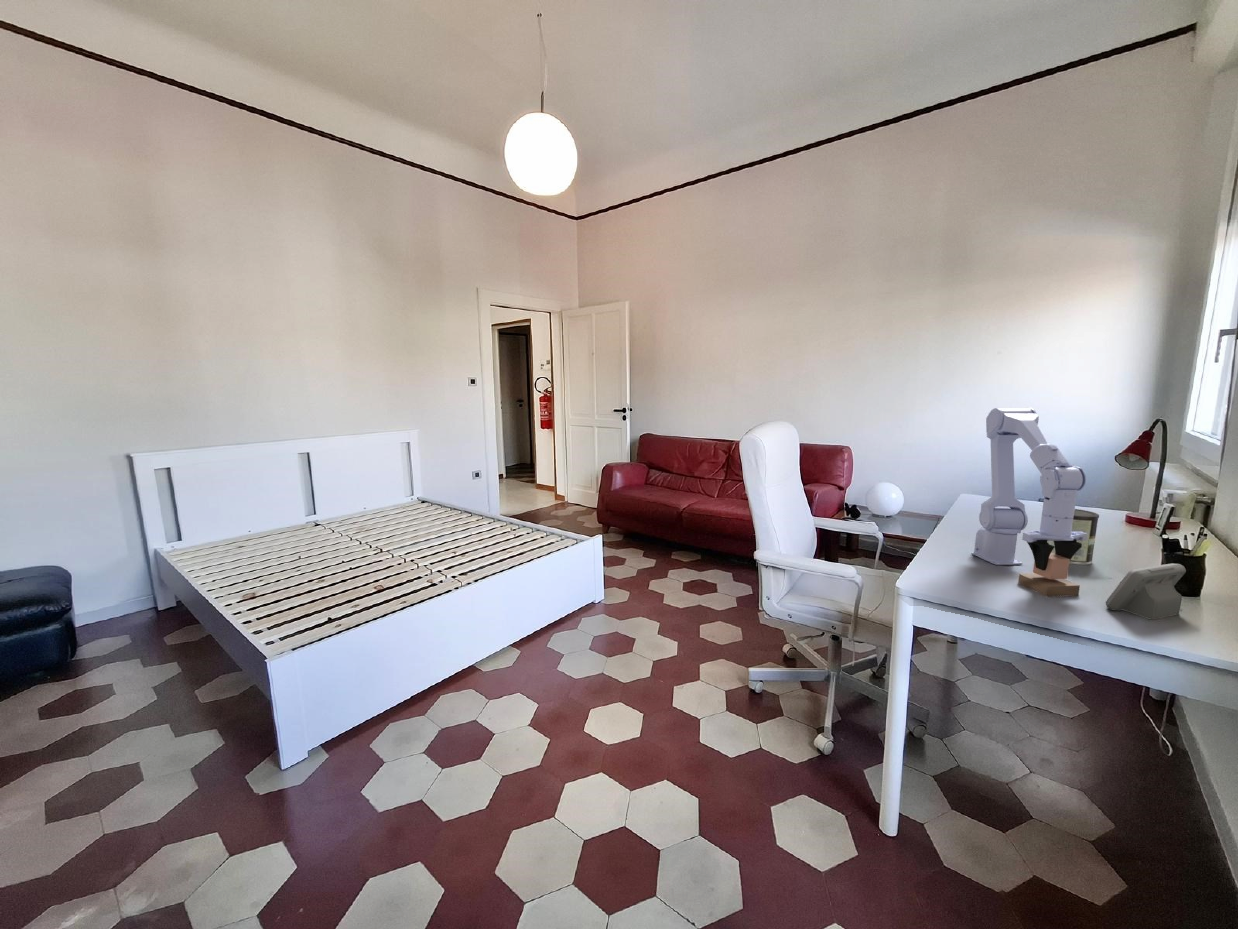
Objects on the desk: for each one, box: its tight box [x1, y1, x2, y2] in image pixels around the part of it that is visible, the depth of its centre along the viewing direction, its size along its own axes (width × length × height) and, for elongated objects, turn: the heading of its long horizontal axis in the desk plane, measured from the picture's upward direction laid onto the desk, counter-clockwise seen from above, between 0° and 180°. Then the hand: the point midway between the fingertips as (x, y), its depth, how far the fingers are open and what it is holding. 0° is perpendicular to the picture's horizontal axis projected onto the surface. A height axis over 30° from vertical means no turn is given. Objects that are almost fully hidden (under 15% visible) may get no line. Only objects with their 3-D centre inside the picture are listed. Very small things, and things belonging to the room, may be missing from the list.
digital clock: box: [1105, 563, 1187, 620], centre depth 108 cm, size 16×9×11 cm, turn 94°
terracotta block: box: [1032, 553, 1070, 580], centre depth 119 cm, size 4×4×5 cm
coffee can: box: [1047, 508, 1100, 566], centre depth 140 cm, size 10×10×14 cm
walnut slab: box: [1018, 572, 1081, 598], centre depth 120 cm, size 8×8×3 cm
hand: (1050, 568), depth 120 cm, fingers closed on terracotta block, 4 cm apart
